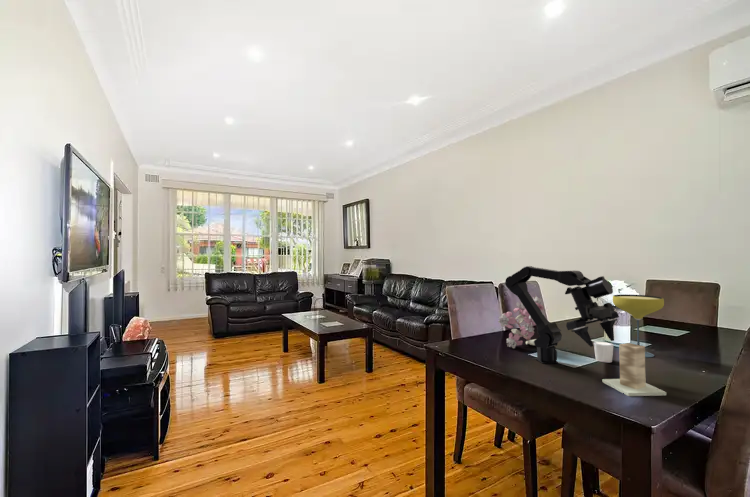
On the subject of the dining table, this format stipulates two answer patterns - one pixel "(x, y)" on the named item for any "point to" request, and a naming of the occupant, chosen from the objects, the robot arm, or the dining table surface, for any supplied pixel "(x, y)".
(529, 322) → the flower
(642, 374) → the birch block
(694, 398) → the dining table surface
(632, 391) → the coaster board
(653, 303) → the cocktail glass
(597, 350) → the shot glass
